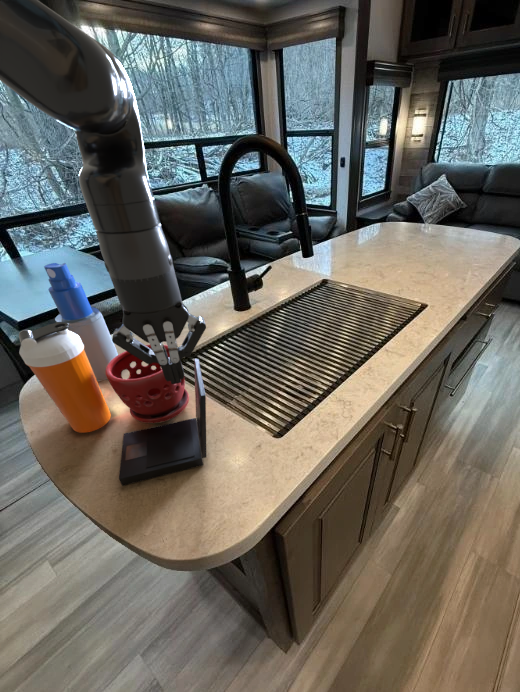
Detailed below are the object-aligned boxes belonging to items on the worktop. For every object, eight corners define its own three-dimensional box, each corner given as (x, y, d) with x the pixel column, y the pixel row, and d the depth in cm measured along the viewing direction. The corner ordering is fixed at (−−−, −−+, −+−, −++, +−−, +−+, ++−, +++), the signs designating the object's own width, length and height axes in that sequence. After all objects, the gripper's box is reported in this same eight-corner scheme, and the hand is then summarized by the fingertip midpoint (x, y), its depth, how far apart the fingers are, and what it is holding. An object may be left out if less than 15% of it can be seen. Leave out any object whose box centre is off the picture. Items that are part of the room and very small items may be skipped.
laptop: (122, 486, 54) (118, 478, 53) (126, 440, 62) (123, 433, 61) (203, 465, 57) (201, 458, 56) (197, 424, 65) (195, 417, 64)
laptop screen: (200, 395, 48) (205, 395, 49) (193, 358, 57) (198, 358, 57) (201, 458, 56) (206, 457, 56) (195, 417, 64) (200, 417, 64)
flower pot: (169, 383, 76) (155, 336, 69) (205, 406, 70) (192, 357, 62) (114, 411, 68) (90, 362, 61) (147, 440, 62) (126, 389, 54)
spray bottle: (108, 382, 77) (58, 272, 61) (74, 379, 78) (16, 270, 62) (130, 362, 83) (89, 258, 68) (98, 359, 85) (51, 257, 69)
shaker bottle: (123, 419, 66) (81, 328, 54) (76, 443, 61) (17, 349, 49) (105, 401, 71) (62, 313, 59) (60, 421, 66) (2, 330, 54)
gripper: (193, 253, 45) (215, 361, 56) (87, 264, 42) (132, 376, 53) (198, 269, 40) (222, 385, 51) (77, 283, 37) (129, 404, 48)
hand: (176, 380), depth 52 cm, fingers closed
